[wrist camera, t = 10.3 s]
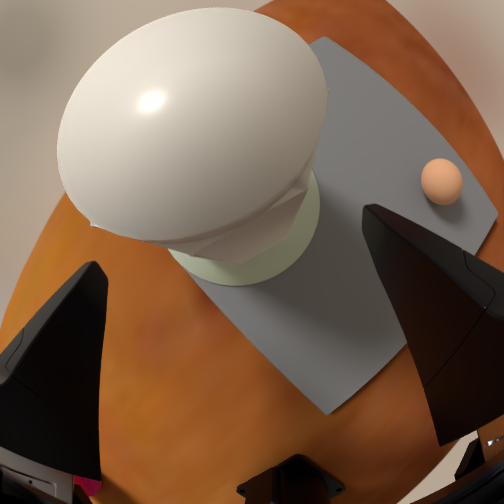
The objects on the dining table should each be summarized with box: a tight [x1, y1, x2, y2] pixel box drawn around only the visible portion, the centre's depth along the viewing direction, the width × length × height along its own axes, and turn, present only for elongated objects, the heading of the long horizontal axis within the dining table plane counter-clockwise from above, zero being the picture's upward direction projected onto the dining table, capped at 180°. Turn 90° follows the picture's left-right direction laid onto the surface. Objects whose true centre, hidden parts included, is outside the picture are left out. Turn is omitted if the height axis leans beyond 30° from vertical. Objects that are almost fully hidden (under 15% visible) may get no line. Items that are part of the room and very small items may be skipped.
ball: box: [421, 158, 463, 205], centre depth 14 cm, size 3×3×3 cm
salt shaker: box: [57, 8, 330, 264], centre depth 11 cm, size 7×7×11 cm
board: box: [167, 36, 498, 415], centre depth 16 cm, size 20×20×1 cm
